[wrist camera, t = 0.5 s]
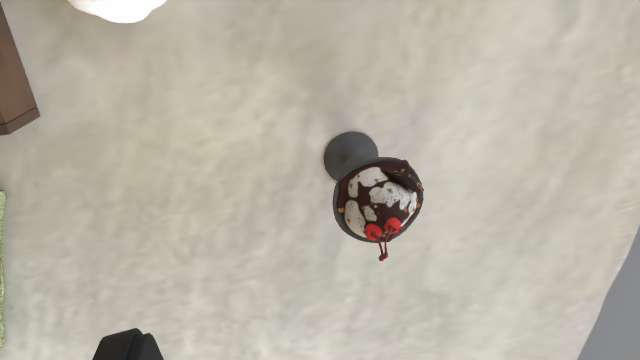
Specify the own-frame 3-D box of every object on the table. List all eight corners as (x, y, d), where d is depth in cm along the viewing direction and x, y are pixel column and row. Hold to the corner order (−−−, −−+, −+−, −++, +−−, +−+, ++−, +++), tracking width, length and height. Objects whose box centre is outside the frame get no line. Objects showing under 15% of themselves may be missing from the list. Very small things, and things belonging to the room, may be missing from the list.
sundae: (322, 199, 46) (354, 289, 32) (309, 131, 43) (337, 195, 30) (391, 184, 46) (452, 266, 32) (381, 115, 44) (444, 171, 30)
